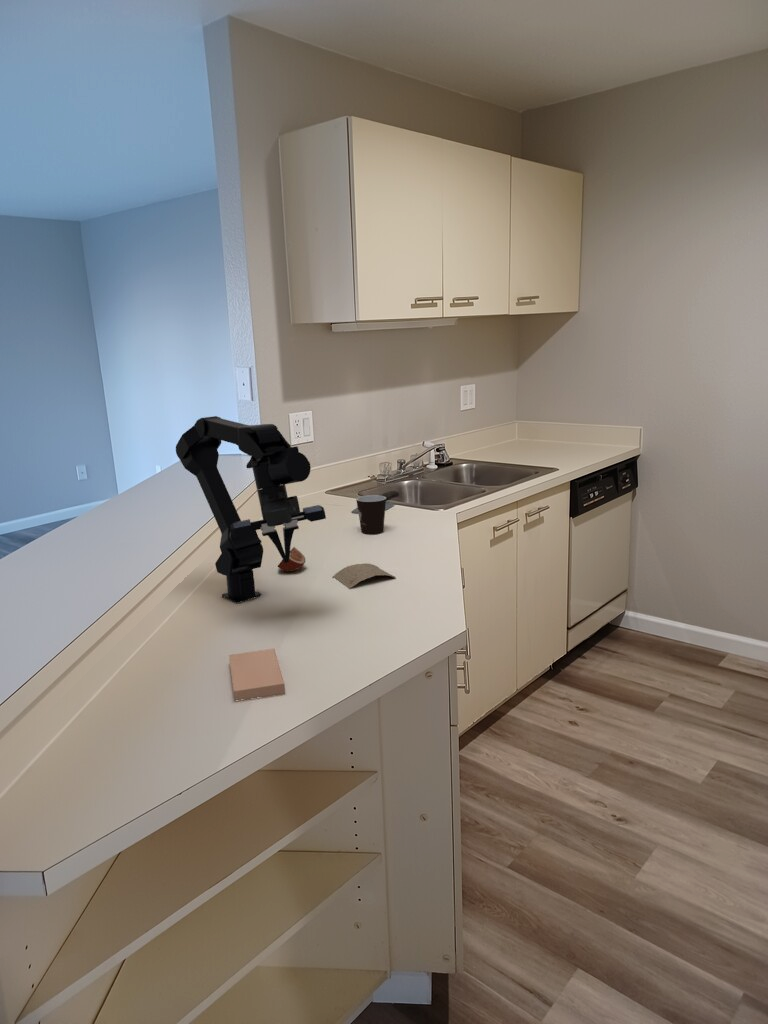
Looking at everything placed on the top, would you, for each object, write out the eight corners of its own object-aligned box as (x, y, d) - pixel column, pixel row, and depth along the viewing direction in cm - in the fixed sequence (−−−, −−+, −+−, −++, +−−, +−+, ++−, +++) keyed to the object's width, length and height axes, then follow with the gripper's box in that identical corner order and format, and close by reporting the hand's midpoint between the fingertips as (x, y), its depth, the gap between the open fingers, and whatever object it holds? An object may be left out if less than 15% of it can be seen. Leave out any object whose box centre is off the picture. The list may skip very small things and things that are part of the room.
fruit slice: (283, 564, 183) (282, 545, 182) (309, 565, 182) (308, 546, 181) (274, 575, 175) (272, 555, 174) (301, 575, 174) (300, 556, 173)
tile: (228, 654, 127) (233, 691, 114) (274, 648, 129) (284, 683, 116) (230, 666, 128) (235, 704, 115) (275, 660, 130) (285, 696, 117)
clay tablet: (379, 569, 179) (379, 558, 178) (401, 580, 171) (401, 569, 170) (327, 580, 172) (327, 569, 171) (347, 592, 163) (347, 581, 163)
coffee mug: (384, 536, 206) (383, 501, 204) (355, 535, 207) (353, 501, 205) (390, 525, 217) (389, 493, 215) (362, 525, 219) (361, 492, 216)
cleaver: (385, 495, 259) (385, 489, 259) (410, 497, 255) (410, 491, 255) (348, 515, 233) (348, 509, 233) (376, 517, 229) (376, 511, 229)
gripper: (223, 497, 136) (240, 577, 137) (320, 477, 139) (336, 556, 140) (225, 496, 147) (241, 571, 148) (315, 478, 150) (330, 551, 151)
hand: (286, 562), depth 147 cm, fingers closed
